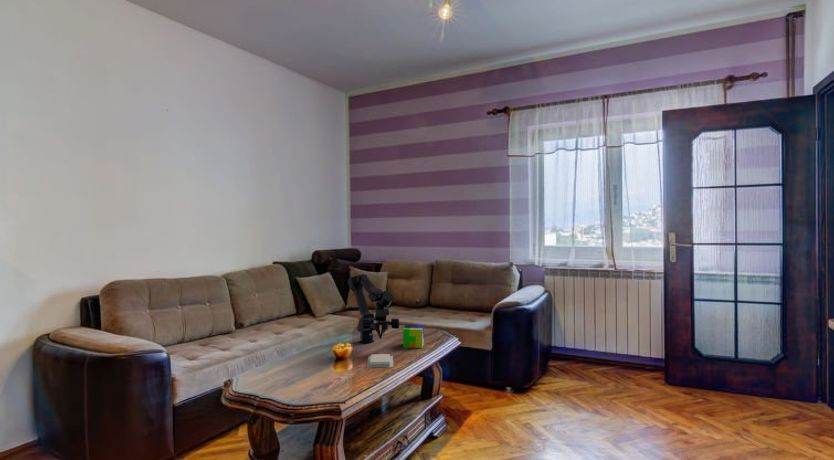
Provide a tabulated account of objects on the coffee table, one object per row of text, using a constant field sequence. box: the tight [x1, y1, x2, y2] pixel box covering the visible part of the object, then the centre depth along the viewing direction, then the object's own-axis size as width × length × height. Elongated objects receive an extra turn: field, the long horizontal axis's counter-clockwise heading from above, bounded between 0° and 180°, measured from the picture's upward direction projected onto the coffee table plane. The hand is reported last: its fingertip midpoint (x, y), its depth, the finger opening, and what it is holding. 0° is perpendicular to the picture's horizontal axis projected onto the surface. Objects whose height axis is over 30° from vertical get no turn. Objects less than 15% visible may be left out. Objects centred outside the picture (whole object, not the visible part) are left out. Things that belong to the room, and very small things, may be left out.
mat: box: [366, 355, 394, 368], centre depth 216 cm, size 17×12×1 cm
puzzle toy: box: [402, 324, 425, 350], centre depth 244 cm, size 10×10×10 cm
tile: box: [369, 353, 391, 368], centre depth 214 cm, size 2×9×12 cm
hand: (380, 338), depth 226 cm, fingers closed
